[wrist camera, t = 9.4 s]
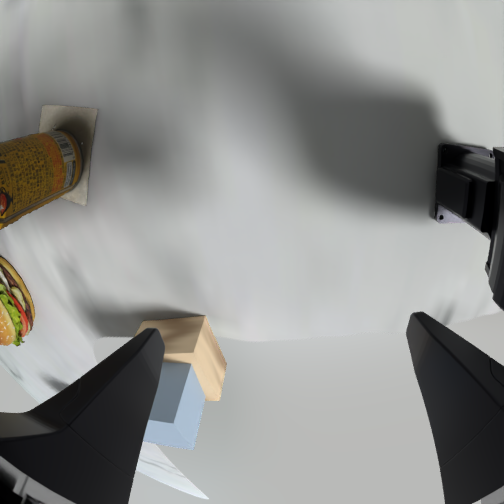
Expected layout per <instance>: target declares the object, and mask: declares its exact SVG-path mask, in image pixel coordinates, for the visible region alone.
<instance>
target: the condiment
mask: <svg viewBox="0 0 504 504" xmlns="http://www.w3.org/2000/svg"><path fill="white" fill-rule="evenodd" d="M97 111H98V109H93V108H83V107H72V106H56V105H43V106H42V111H41V120H40V124H39V133H37V134H31V135H28V136H25V137H21V138H16V139H12V140H9V141H5V142H0V230H1V229H3V228H4V227H7V226H8V225H9V224H12V223H14V222H15V221H17V220H18V219H20V218H21V217H22V216H24V215H26V214H28V213H31V212H32V211H34V210H37V209H38V208H40V207H42V206H44V205H45V204H48V203H49V202H51V201H53V200H54V199H57V198H59V197H60V198H64V199H67V200H70V201H72V202H74V203H78V204H81V205H84V206H86V200H87V190H88V179H89V167H90V158H91V147H92V141H93V136H94V129H95V120H96V116H97ZM55 125H56V127H55V128H54V126H55ZM52 129H53V130H52ZM82 142H83V144H82Z"/></svg>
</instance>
